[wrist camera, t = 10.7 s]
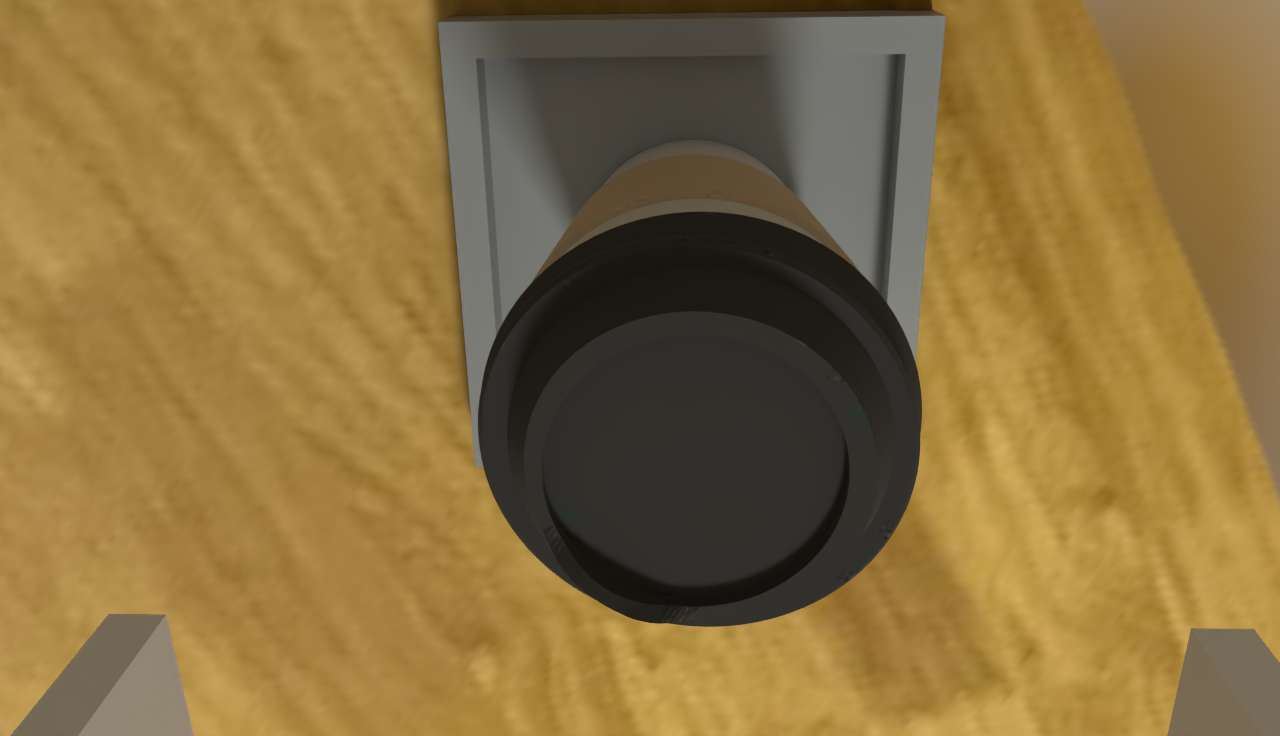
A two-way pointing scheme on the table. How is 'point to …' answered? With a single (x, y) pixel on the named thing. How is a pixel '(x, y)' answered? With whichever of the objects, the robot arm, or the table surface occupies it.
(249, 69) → the table surface
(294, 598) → the table surface
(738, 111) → the tray
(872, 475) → the coffee cup
